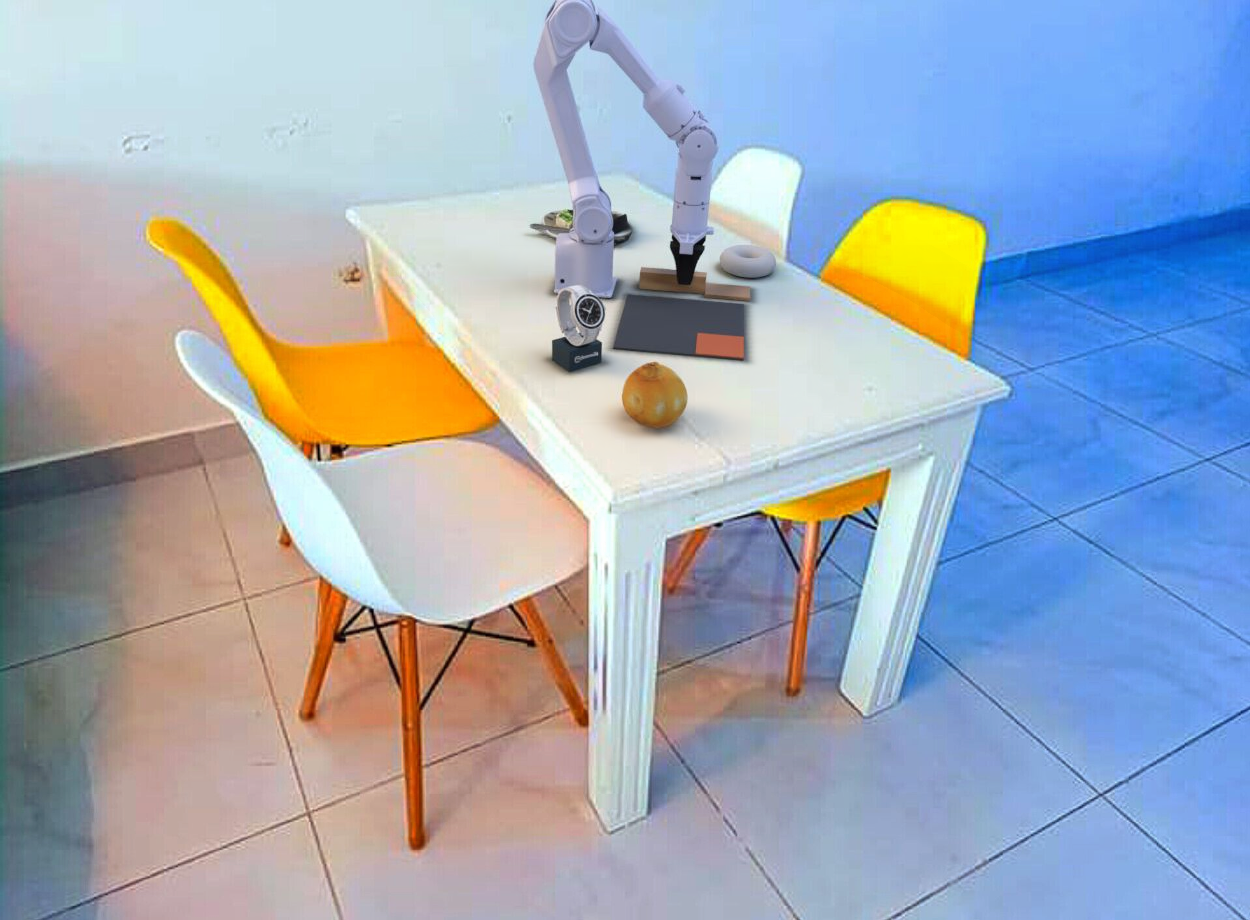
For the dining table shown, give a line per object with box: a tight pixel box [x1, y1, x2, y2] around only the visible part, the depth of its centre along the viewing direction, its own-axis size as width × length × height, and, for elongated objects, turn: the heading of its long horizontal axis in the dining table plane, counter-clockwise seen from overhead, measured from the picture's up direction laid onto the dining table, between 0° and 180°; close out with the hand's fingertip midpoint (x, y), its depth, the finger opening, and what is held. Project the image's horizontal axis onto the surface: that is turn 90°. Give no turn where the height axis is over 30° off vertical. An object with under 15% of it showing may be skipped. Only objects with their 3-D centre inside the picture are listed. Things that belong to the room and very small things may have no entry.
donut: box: [719, 244, 777, 279], centre depth 161 cm, size 10×4×10 cm
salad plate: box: [529, 208, 633, 245], centre depth 173 cm, size 19×18×5 cm
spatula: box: [638, 266, 751, 302], centre depth 152 cm, size 18×5×3 cm, turn 84°
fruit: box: [621, 361, 689, 429], centre depth 115 cm, size 8×8×8 cm
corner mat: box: [612, 293, 745, 361], centre depth 141 cm, size 19×20×1 cm
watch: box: [551, 285, 607, 373], centre depth 127 cm, size 6×8×11 cm
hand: (684, 280), depth 152 cm, fingers closed on spatula, 2 cm apart
